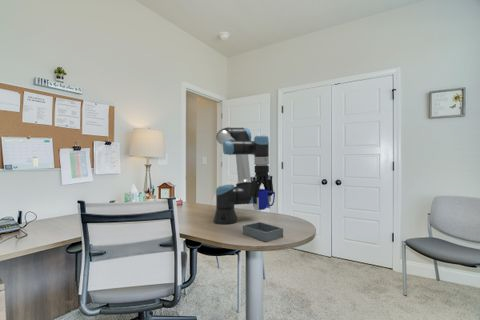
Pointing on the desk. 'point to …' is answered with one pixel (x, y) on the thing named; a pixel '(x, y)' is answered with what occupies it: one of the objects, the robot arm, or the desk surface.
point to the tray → (263, 231)
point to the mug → (264, 198)
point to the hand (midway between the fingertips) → (262, 208)
